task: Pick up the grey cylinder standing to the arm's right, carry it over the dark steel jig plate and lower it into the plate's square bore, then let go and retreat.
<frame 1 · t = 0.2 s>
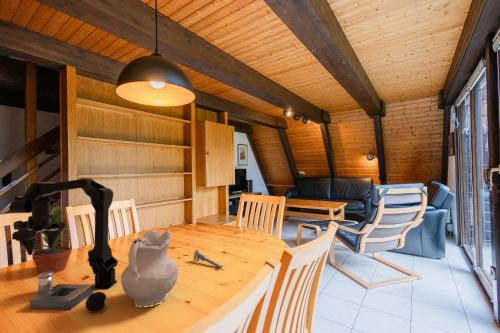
hand: (40, 251, 101), 14 cm above the table, fingers open, 9 cm apart
caliper: (208, 265, 124), on the table
billiard ball: (96, 311, 83), on the table
ceramic pitcher: (149, 301, 90), on the table
grey cylinder: (45, 291, 96), on the table
potted plant: (52, 270, 116), on the table
jig: (63, 300, 90), on the table
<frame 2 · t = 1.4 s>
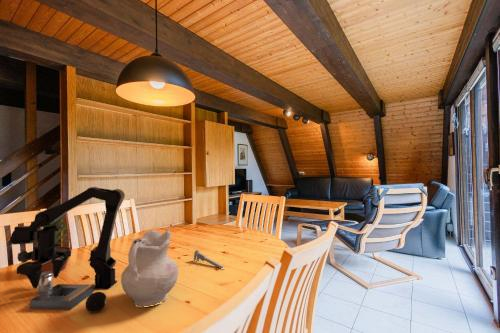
hand: (45, 282, 96), 3 cm above the table, fingers open, 9 cm apart
nothing on the table moved.
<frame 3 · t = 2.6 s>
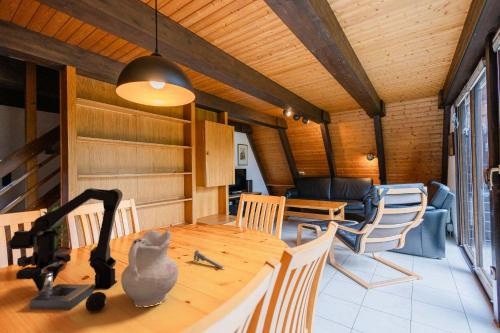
hand: (45, 287, 96), 2 cm above the table, fingers closed on grey cylinder, 4 cm apart
grey cylinder: (45, 291, 96), on the table, touching gripper
everything else where it was.
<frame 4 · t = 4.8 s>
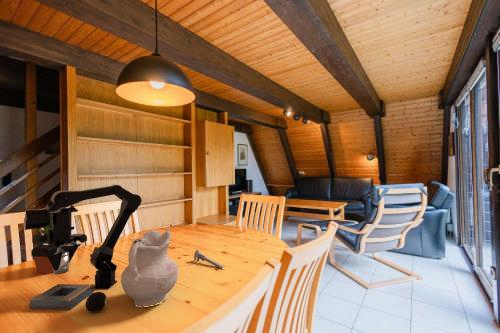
hand: (61, 267, 91), 11 cm above the table, fingers closed on grey cylinder, 4 cm apart
grey cylinder: (61, 271, 91), point 10 cm above the table, touching gripper
everything else where it was.
when the fingers open (3 cm above the table, at t = 7.1 s): grey cylinder drops 2 cm, resting in jig.
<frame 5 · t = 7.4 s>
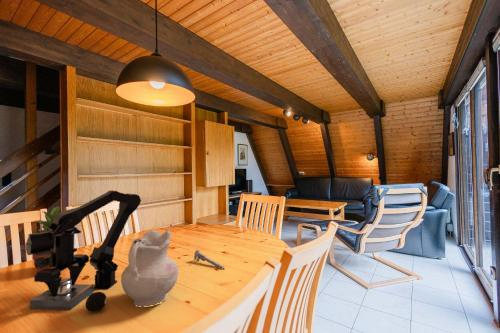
hand: (63, 290, 90), 3 cm above the table, fingers open, 8 cm apart
grey cylinder: (63, 300, 90), resting in jig
everything else where it was.
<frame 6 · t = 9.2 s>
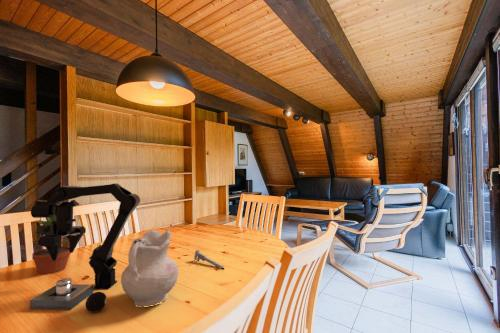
hand: (63, 256, 99), 13 cm above the table, fingers open, 9 cm apart
nothing on the table moved.
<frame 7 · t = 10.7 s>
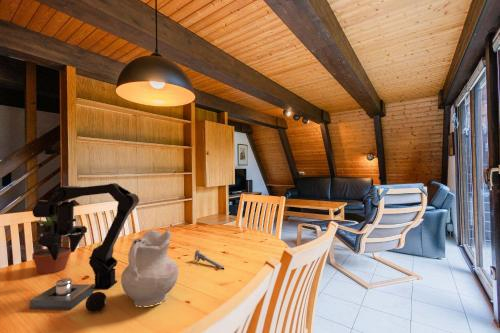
hand: (64, 255, 100), 12 cm above the table, fingers open, 9 cm apart
nothing on the table moved.
at the end: grey cylinder 0.1 cm from the jig (horizontally); grey cylinder resting in jig; grey cylinder tilted 0° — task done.
